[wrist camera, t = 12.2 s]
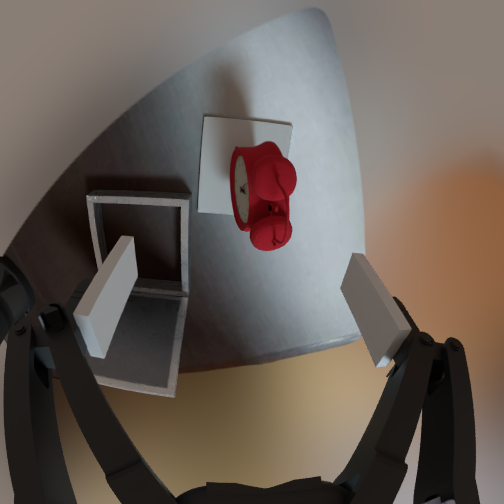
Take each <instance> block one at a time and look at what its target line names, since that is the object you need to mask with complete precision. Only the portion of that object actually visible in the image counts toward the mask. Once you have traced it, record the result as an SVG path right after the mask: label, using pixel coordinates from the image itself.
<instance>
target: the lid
mask: <svg viewBox="0 0 504 504" xmlns="http://www.w3.org/2000/svg"><path fill="white" fill-rule="evenodd" d="M187 306H188V298H185V297H175V296H165V295H155V294H146V293H137V292H130V295H129V297H128V299H127V302H126V304H125V307H124V309H123V311H122V314H121V316H120V319H119V321H118V324H117V327H116V329H115V332H114V334H113V337H112V340H111V342H110V345H109V348H108V351H107V353H106V356H105V359H103V358H98V357H93V356H90V354H89V351H88V349H87V350H86V352H85V357H86V359H87V362H88V364H89V366H90V368H91V370H92V372H93V374H94V376H95V378H96V380H97V382H98V384H101V385H106V386H110V387H115V388H120V389H125V390H130V391H135V392H141V393H147V394H153V395H160V396H167V397H175V393H176V384H177V376H178V368H179V360H180V352H181V345H182V338H183V331H184V325H185V318H186V312H187Z"/></svg>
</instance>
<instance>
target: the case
mask: <svg viewBox="0 0 504 504" xmlns="http://www.w3.org/2000/svg"><path fill="white" fill-rule="evenodd" d="M86 197H87V206H88V214H89V221H90V228H91V234H92V240H93V246H94V251H95V257H96V262H97V266H98V271H99V269H100V267H101V266H102V264H103V263H104V261H105V260H106V258H107V257H108V253H107V247H106V240H105V233H104V226H103V218H102V209H101V203H120V204H143V205H161V206H178V207H181V272H182V282H179V281H168V280H158V279H148V278H138V277H137V279H136V281H135V283H134V285H133V288H132V290H131V292H137V293H146V294H155V295H165V296H175V297H185V298H189V293H190V288H191V204H192V193H176V192H157V191H131V190H93V191H92V192H90V193H89V194H88V195H87V196H86Z"/></svg>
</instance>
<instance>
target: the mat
mask: <svg viewBox="0 0 504 504" xmlns="http://www.w3.org/2000/svg"><path fill="white" fill-rule="evenodd" d="M292 129H293V126H290V125H283V124H277V123H269V122H261V121H253V120H243V119H232V118H220V117H204V126H203V138H202V151H201V165H200V181H199V201H198V212H204V213H217V214H229V215H234V213H233V208H232V202H231V194H230V163H231V157H232V153H233V151H234V150H235V147H236V146H237V147H238V148H239V147H254V146H257V145H259V144H261V143H263V142H265V141H272V142H274V143H275V144H276V145H277V146H278V147H279V149H280V151H281V152H282V155H283V157H285V158H287V159H288V154H289V148H290V141H291V135H292Z"/></svg>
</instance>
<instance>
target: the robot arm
mask: <svg viewBox="0 0 504 504" xmlns="http://www.w3.org/2000/svg"><path fill="white" fill-rule="evenodd" d="M137 276H138V272H137V264H136V256H135V247H134V237H133V236H121V237H120V239H119V240H118V242H117V243H116V245H115V246H114V248H113V249H112V251H111V252H110V254H109V255H108V257H107V258H106V260H105V261H104V263H103V264H102V266H101V267H100V269H99V271H98V272H97V274H96V275H95V277H94V279H85V280H83V281H82V282H81V283H80V284H78V286H77V288H76V289H75V291H74V292H73V294H72V295H71V298H70V299H69V300H68V302H67V304H66V305H65V307H64V306H63V305H62V304H61V303H59V302H49V303H47V304H45V305H44V306H43V307H42V308H41V309H40V310H39V312H38V317H39V320H40V322H41V324H42V326H38V327H32V325H31V323H30V322H29V321H28V320H26V319H22V318H23V317H25V316H26V315H28V314H29V313H30V311H31V310H32V308H33V307H34V303H35V298H34V294H33V291H32V288H31V286H30V284H29V282H28V280H27V279H26V277H25V276H24V274H23V273H22V272H21V271H20V270H19V268H18V267H17V266H16V265H14V264H13V263H12V262H11V261H9V260H8V259H6V258H4V257H2V256H0V345H1V343H2V341H3V340H4V338H5V336H6V335H7V333H8V331H9V334H8V341H7V350H6V359H5V373H4V428H5V440H6V450H7V458H8V464H9V470H10V476H11V481H12V486H13V491H14V504H77V502H76V499H75V495H74V492H73V489H72V486H71V483H70V479H69V475H68V472H67V468H66V464H65V460H64V456H63V451H62V447H61V442H60V437H59V431H58V425H57V419H56V412H55V404H54V395H53V384H52V368H56V370H57V373H58V376H59V379H60V382H61V384H62V387H63V390H64V392H65V395H66V397H67V400H68V402H69V405H70V407H71V409H72V411H73V414H74V416H75V418H76V420H77V422H78V425H79V427H80V429H81V431H82V433H83V435H84V437H85V439H86V441H87V443H88V444H89V447H90V448H91V450H92V452H93V454H94V456H95V457H96V459H97V461H98V463H99V464H100V466H101V468H102V469H103V471H104V473H105V475H106V480H107V483H108V484H109V486H110V488H111V489H112V491H113V492H114V494H115V495H116V496H117V498H118V499H119V501H120V502H121V503H122V504H393V502H394V500H395V498H396V495H397V493H398V491H399V489H400V486H401V484H402V482H403V480H404V477H405V475H406V473H407V469H408V465H407V464H406V463H405V458H406V455H407V453H408V450H409V447H410V444H411V442H412V439H413V436H414V433H415V430H416V427H417V423H418V420H419V417H420V413H421V410H422V427H421V443H420V453H419V462H418V470H417V477H416V483H415V489H414V499H413V504H480V501H479V495H478V489H477V484H476V480H475V471H476V440H475V439H476V437H475V420H474V409H473V399H472V392H471V384H470V378H469V372H468V367H467V361H466V356H465V351H464V347H463V345H462V344H461V342H460V341H459V340H457V339H455V338H452V337H450V338H448V339H447V340H446V341H445V343H444V344H442V343H437V342H435V341H434V339H433V338H432V337H431V336H430V335H429V334H427V333H425V332H420V331H419V329H418V327H417V326H416V324H415V323H414V321H413V319H412V318H411V316H410V315H409V313H408V311H407V310H406V308H405V307H404V305H403V304H402V302H401V301H399V300H398V299H397V298H396V297H392V296H391V294H390V293H389V291H388V290H387V288H386V287H385V285H384V284H383V282H382V281H381V279H380V278H379V276H378V275H377V273H376V272H375V270H374V269H373V268H372V266H371V265H370V263H369V262H368V260H367V259H366V257H365V256H364V254H359V253H352V256H351V259H350V262H349V265H348V268H347V271H346V274H345V277H344V279H343V282H342V285H341V288H340V289H341V291H342V293H343V295H344V297H345V299H346V301H347V303H348V306H349V308H350V310H351V312H352V314H353V316H354V319H355V321H356V323H357V325H358V327H359V330H360V332H361V334H362V336H363V338H364V341H365V343H366V345H367V348H368V350H369V352H370V355H371V357H372V359H373V362H374V364H375V367H382V366H387V365H388V364H389V363H390V362H391V360H392V359H394V361H395V365H394V366H393V368H392V369H391V370H390V372H389V373H388V374H387V376H386V377H388V376H389V378H388V381H387V383H386V386H385V388H384V391H383V393H382V395H381V398H380V400H379V403H378V405H377V407H376V409H375V412H374V414H373V416H372V418H371V420H370V423H369V425H368V426H367V428H366V431H365V433H364V434H363V436H362V438H361V441H360V442H359V444H358V446H357V448H356V450H355V452H354V453H353V455H352V457H351V459H350V461H349V462H348V464H347V466H346V467H345V469H344V470H343V472H342V473H341V474H340V475H339V476H338V477H337V478H336V479H335V481H334V482H333V483H331V482H327V481H321V477H320V476H318V477H312V478H305V479H297V480H292V481H290V482H286V483H283V484H280V485H277V486H274V487H270V488H265V489H264V488H258V487H252V486H248V485H243V484H237V483H214V482H212V483H211V482H206V486H202V487H198V488H194V489H191V490H189V491H187V492H184V493H183V494H181V495H179V496H178V497H177V498H175V497H174V495H173V494H172V493H171V492H170V491H169V490H168V488H167V487H166V486H165V485H164V484H163V483H162V481H161V480H160V479H159V478H158V477H157V476H156V474H155V473H154V472H153V470H152V469H151V468H150V466H149V465H148V464H147V462H146V461H145V460H144V458H143V457H142V455H141V454H140V453H139V451H138V450H137V449H136V447H135V445H134V444H133V442H132V441H131V439H130V438H129V436H128V435H127V433H126V432H125V430H124V429H123V427H122V425H121V424H120V422H119V420H118V419H117V417H116V416H115V414H114V412H113V410H112V409H111V407H110V405H109V403H108V402H107V400H106V398H105V396H104V395H103V392H102V390H101V388H100V387H99V384H98V382H97V380H96V378H95V376H94V374H93V372H92V370H91V368H90V366H89V364H88V362H87V359H86V357H85V352H86V350H87V349H88V351H89V354H90V356H93V357H98V358H103V359H105V356H106V353H107V351H108V348H109V345H110V342H111V340H112V337H113V334H114V332H115V329H116V327H117V324H118V321H119V319H120V316H121V314H122V311H123V309H124V307H125V304H126V302H127V299H128V297H129V295H130V292H131V290H132V288H133V285H134V283H135V281H136V279H137Z"/></svg>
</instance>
